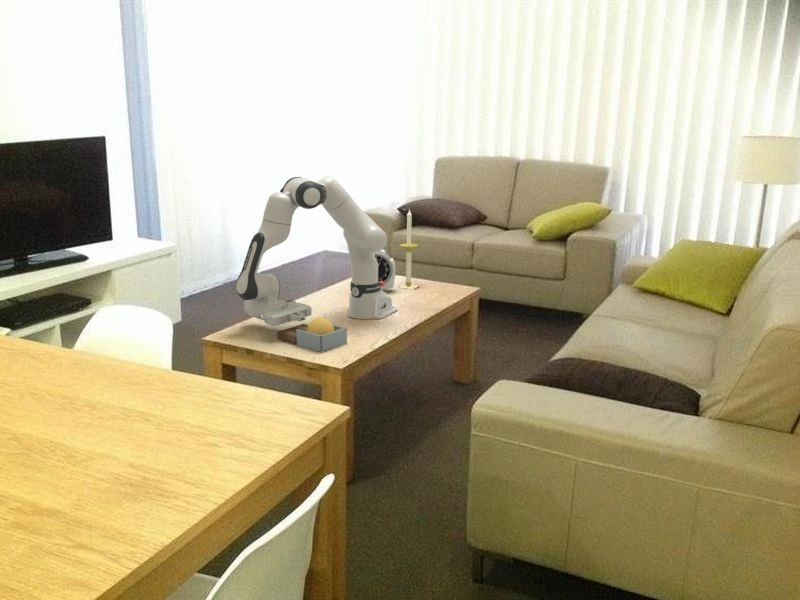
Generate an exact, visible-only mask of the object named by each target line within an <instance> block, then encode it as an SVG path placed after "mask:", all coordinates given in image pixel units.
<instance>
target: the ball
mask: <svg viewBox="0 0 800 600" xmlns="http://www.w3.org/2000/svg"><path fill="white" fill-rule="evenodd" d="M307 325H308V328H307V332H310V333H313V334H317V335H324V334H327V333H330V332H334V327H333V323H332V322H331V320H330V319H327V318H325V317H316V318H315V319H313V320H311V321H310V323H309V324H307Z"/></svg>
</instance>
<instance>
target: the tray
mask: <svg viewBox="0 0 800 600" xmlns="http://www.w3.org/2000/svg"><path fill="white" fill-rule="evenodd" d="M332 324H333V323H332ZM333 327H334V332H330V333H327V334H324V335H317V334H313V333H310V332H306V331H302V330H299V329H297V330H296V335H297V345H296V346H299V347H302V348H305V349H308V350H312V351H316V352H319V353H323V352H325V351H329V350H332V349H335V348H337V346H338V347H340V346H343V345H346V344H347V343H348V341H347V340H348V334H347V333H348V330H347V329H348V328H347V327H346V326H340V325H337V324H333ZM345 343H346V344H345ZM342 344H343V345H342ZM334 347H335V348H334ZM331 348H332V349H331Z"/></svg>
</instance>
